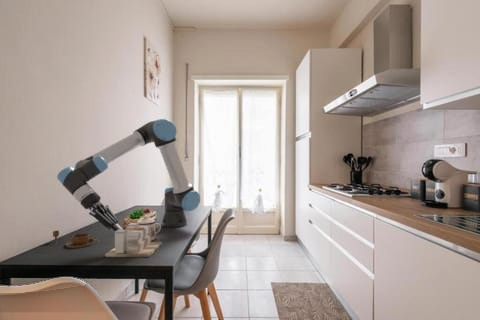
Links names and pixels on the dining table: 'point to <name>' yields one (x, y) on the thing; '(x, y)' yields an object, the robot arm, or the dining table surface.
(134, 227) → the key terracotta
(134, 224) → the key
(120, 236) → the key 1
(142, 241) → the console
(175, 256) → the dining table surface
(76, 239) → the place setting
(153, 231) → the teacup with lid
